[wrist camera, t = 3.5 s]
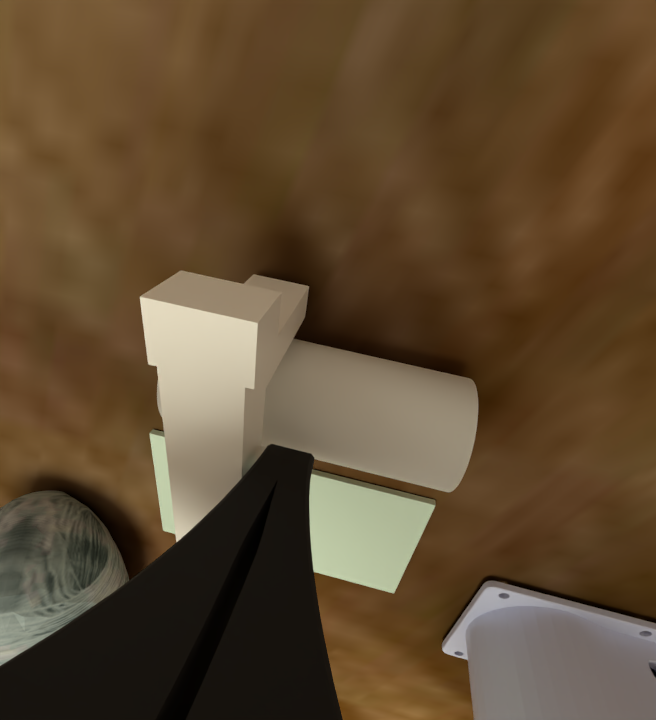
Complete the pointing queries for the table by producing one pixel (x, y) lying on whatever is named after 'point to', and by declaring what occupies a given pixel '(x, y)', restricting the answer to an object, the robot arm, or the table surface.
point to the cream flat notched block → (215, 377)
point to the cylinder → (371, 414)
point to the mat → (341, 524)
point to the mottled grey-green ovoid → (51, 567)
